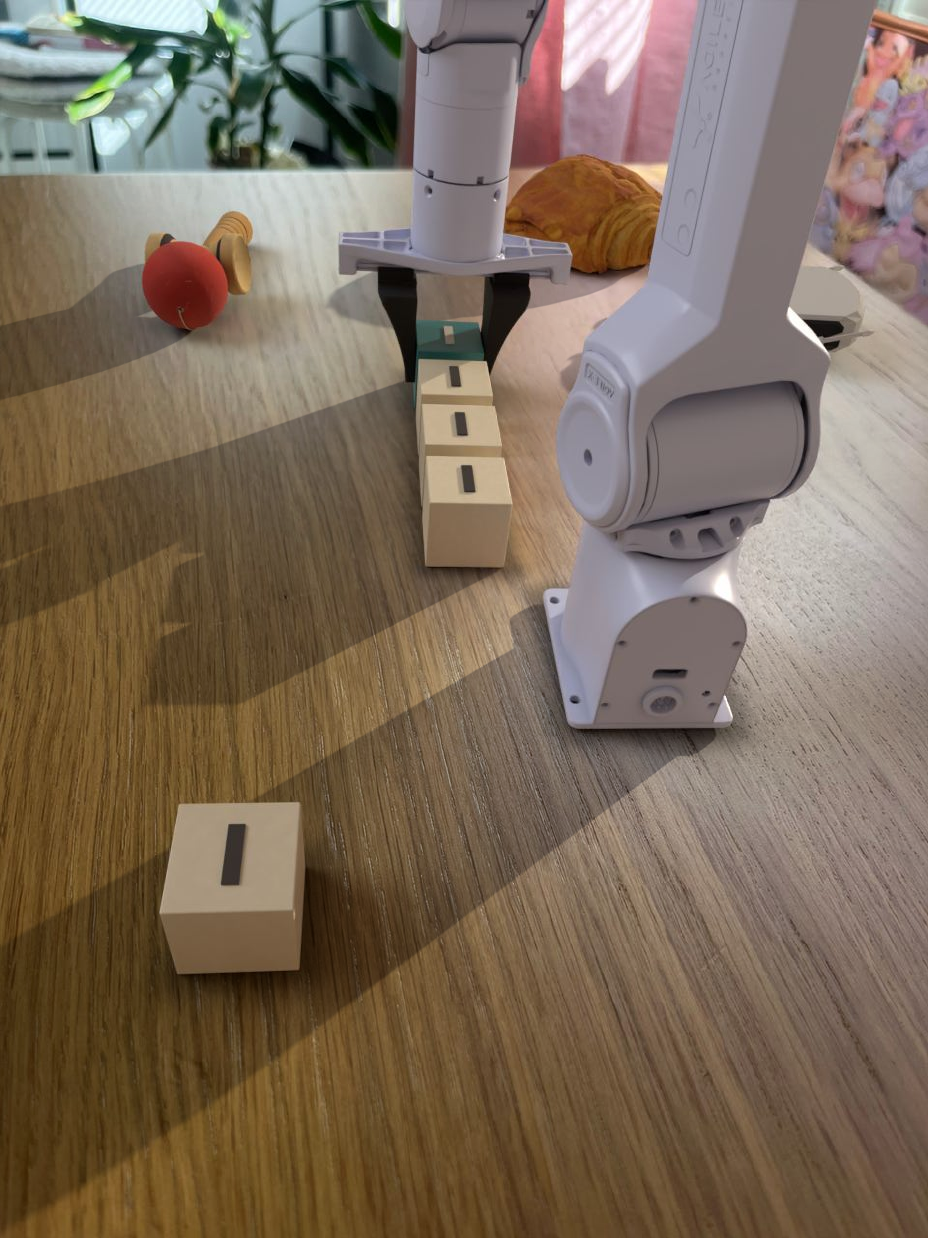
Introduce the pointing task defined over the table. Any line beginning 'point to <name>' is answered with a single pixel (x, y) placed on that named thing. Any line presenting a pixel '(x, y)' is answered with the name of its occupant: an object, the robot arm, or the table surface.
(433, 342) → the teal cube
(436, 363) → the cream cube block
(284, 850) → the beige slotted box
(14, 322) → the table surface
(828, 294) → the robot toy
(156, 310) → the kendama
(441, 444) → the tan wooden cube
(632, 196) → the croissant
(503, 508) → the beige cube
